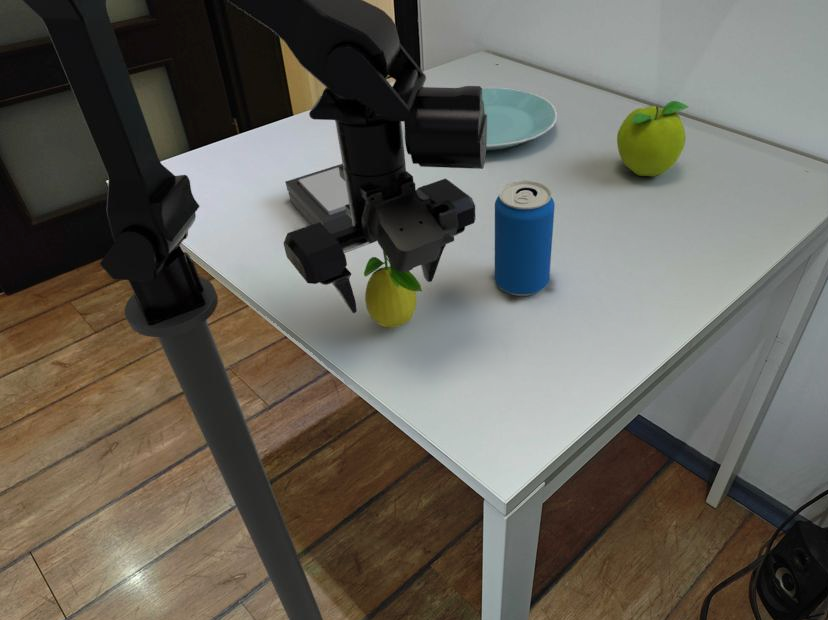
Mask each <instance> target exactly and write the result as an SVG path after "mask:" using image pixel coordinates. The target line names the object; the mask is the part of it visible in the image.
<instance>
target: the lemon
mask: <svg viewBox="0 0 828 620" xmlns="http://www.w3.org/2000/svg"><path fill="white" fill-rule="evenodd" d="M382 254H383V258H384V259H383V260H384V262H383V260H381V259H380V258H378V257H377V256H372V257H371V258H369V259H368V261H367V262H366V265H365V268H364V271H363V276H364V277H367V276H369V275H370V277H369V279H368V281H367V284H366V288H365V294H364V302H365V307H366V310H367V312H368V314H369V317H371V319H372V320H373V321H374V322H375V323H377V324H378V325H380V326H382V327H384V328H398V327H401V326H404V325H406V324H407V323H408V322H409V321H410V320H411V319H412V318H413V316H414V313H415V312H416V308H417V293H416V292H423V289H422V287H421V284H420V282H419V280H418V279H417V278H416V276H415V275H414V274H413V273H412V272H411V270H410V271H407V272H399V271H397V270H395V269H394V268H393V266H392V265H391V263H390V260H389V259H388V257H387V256H386V254H385V253H384V251H383V250H382ZM388 263H389V264H388ZM383 265H384V267H382V266H383ZM388 265H389V266H388Z"/></svg>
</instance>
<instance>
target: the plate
mask: <svg viewBox="0 0 828 620" xmlns="http://www.w3.org/2000/svg"><path fill="white" fill-rule="evenodd" d="M481 88H482V100H483V102H484V109H485V114H487V143H486V151H499V150H504V149H510V148H513V147H516V146H518V145H521V144H523V143H526V142H529V141H532V140H535V139H537V138H540V137H542V136H543V135H545V134H546V133H549V131H550V130H551V129H552V128H553V127H554V126H555V124H556V122H557V120H558V112H557V109H556V107H555V106H554V105H553V104H552V102H550V101H549V100H548V99H546V98H544V97H543V96H541V95H537V94H535V93H532V92H529V91H525V90H521V89H516V88H509V87H490V86H489V87H481Z"/></svg>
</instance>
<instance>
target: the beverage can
mask: <svg viewBox="0 0 828 620" xmlns="http://www.w3.org/2000/svg"><path fill="white" fill-rule="evenodd" d="M555 205H556V204H555V201H554V199H553V197H552V192H551V189H550V187H548V186H546V185H545V184H543V183H540V182H539V181H533V180H516V181H512V182H509V183H506V184H504V185H503V186H501V188H500V190H499V192H498V196H497V197H496V199H495V202H494V282H495V284H496V285H497V286H498V288H499V289H500V290H503V291H504V292H506V293H508V294H510V295H513V296H517V297H527V296H531V295H535V294H537V293H539V292H541V291H543V290H544V289H545V288H546V287H547V286H548V284H549V282H550V276H551V273H550V272H551V263H552V262H551V261H552V246H553V235H554V234H553V233H554V221H555V220H554V219H555Z"/></svg>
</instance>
